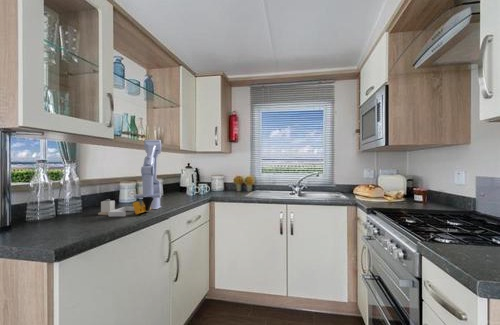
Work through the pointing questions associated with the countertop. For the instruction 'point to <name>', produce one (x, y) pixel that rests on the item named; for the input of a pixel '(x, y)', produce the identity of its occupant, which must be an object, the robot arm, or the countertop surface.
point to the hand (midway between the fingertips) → (147, 210)
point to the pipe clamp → (139, 207)
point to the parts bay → (120, 211)
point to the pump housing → (107, 207)
